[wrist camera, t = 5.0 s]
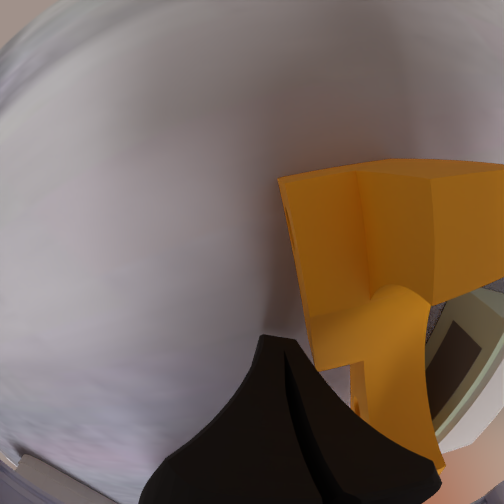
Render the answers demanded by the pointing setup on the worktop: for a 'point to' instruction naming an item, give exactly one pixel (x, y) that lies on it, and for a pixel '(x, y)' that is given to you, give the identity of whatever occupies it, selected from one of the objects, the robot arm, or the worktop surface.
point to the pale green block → (466, 367)
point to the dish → (58, 483)
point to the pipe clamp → (390, 273)
